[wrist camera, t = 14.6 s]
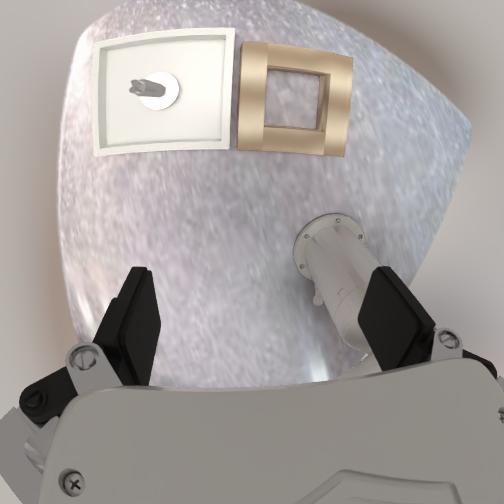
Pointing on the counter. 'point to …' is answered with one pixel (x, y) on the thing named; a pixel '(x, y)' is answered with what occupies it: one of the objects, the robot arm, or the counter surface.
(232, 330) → the counter surface
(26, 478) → the robot arm
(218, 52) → the tray
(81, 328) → the counter surface
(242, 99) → the holder
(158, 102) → the screw
